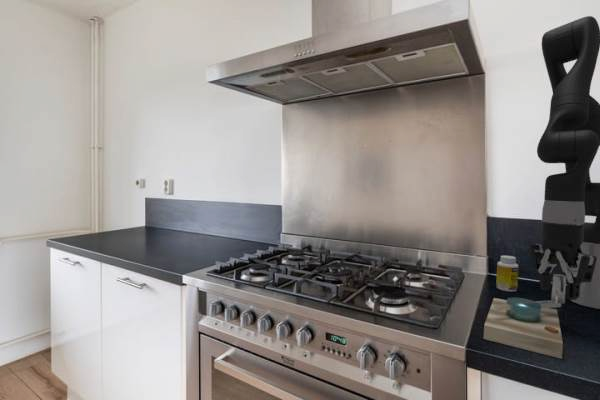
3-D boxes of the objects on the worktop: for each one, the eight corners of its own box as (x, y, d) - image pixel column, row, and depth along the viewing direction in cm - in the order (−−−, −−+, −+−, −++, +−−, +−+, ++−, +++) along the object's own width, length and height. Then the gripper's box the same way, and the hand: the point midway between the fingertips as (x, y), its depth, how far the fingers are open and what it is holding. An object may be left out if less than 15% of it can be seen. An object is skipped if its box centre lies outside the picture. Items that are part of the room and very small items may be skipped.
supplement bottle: (512, 293, 98) (513, 259, 97) (492, 288, 102) (494, 256, 102) (520, 290, 101) (522, 257, 100) (501, 285, 105) (502, 253, 105)
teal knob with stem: (506, 323, 69) (508, 283, 69) (484, 311, 76) (486, 274, 75) (575, 318, 72) (578, 279, 71) (549, 307, 78) (551, 271, 78)
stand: (493, 309, 86) (493, 295, 85) (556, 322, 78) (557, 307, 78) (483, 338, 69) (484, 322, 69) (561, 358, 62) (563, 340, 62)
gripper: (521, 217, 80) (517, 284, 81) (580, 225, 66) (575, 307, 67) (547, 217, 81) (544, 283, 82) (611, 225, 67) (605, 305, 68)
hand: (558, 293), depth 75 cm, fingers open, 5 cm apart
